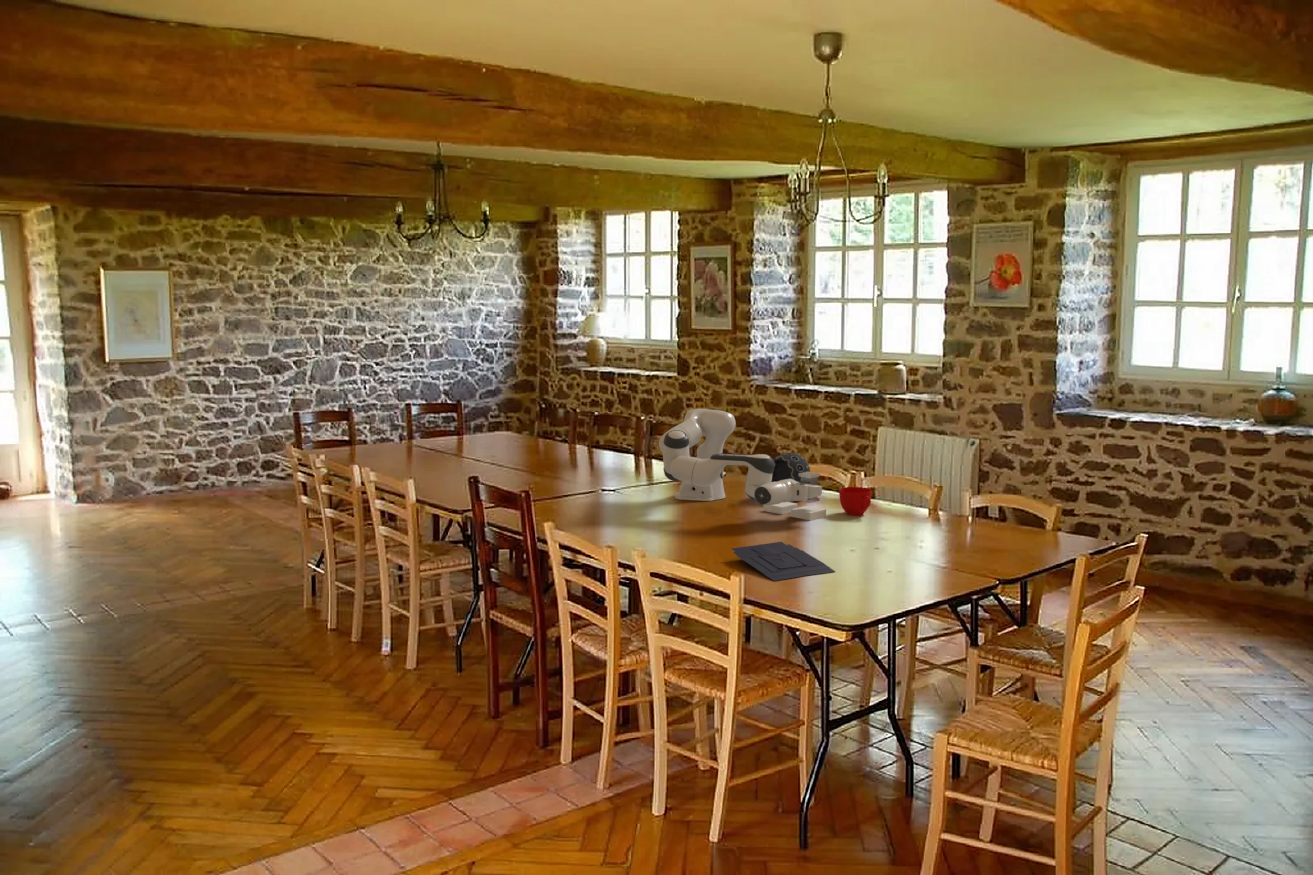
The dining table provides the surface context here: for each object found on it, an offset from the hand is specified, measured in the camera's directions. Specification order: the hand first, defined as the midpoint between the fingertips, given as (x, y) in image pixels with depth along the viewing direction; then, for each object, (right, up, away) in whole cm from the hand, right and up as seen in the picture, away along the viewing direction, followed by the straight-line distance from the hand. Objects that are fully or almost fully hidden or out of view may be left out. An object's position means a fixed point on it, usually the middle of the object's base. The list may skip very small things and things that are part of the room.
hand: (810, 485), depth 423 cm
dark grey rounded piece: (-4, -7, +38) cm, 39 cm away
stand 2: (-1, -13, +1) cm, 13 cm away
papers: (-21, -24, -72) cm, 79 cm away
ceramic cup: (+20, -12, +4) cm, 24 cm away
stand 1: (-11, -11, +12) cm, 20 cm away
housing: (-1, -6, 0) cm, 6 cm away
